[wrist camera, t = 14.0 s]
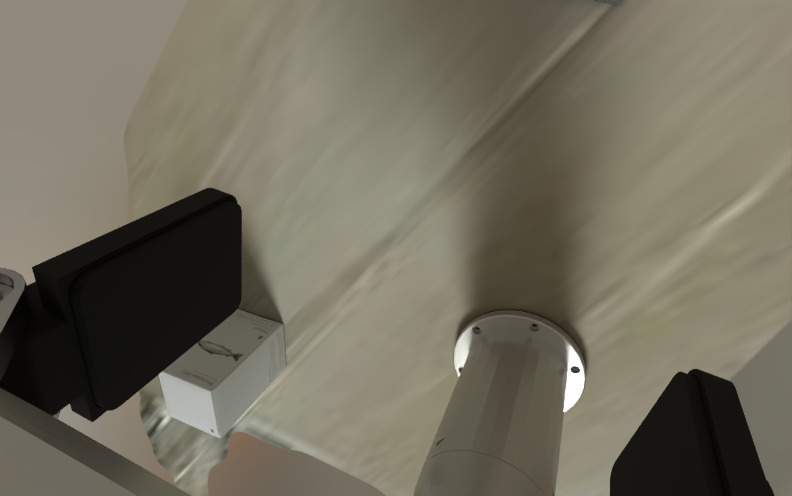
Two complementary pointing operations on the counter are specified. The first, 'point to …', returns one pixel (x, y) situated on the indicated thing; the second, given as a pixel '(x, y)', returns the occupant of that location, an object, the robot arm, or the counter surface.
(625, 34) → the counter surface
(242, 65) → the counter surface
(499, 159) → the counter surface
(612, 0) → the mat
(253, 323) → the supplement box
